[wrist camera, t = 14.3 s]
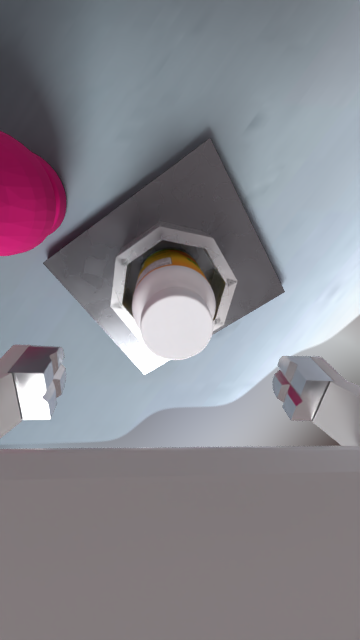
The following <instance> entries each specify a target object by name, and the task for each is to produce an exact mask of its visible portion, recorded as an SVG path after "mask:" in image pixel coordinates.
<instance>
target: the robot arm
mask: <svg viewBox="0 0 360 640" xmlns="http://www.w3.org/2000/svg"><path fill="white" fill-rule="evenodd" d="M64 358H65V357H64V350H63V348H62V347H53V346H36V345H13V346H12V347H11V348H10V349H9V350H8V351H7V352H6V353H5V354H4V355H3V357H2V358H1V359H0V438H1V437H3V436H4V435H5V434H6V433H8V432H9V431H10V430H11V429H13V428H14V427H15V426H16V425H18V424H19V423H20V422H21V421H22V420H36V419H50V418H51V416H52V414H53V412H54V410H55V408H56V406H57V397H59V396H60V395H62V392H63V390H64V387H65V382H66V368H65V367H64V366H63V365H62V364H61V363H62V362H63V360H64ZM278 367H279V369H280V370H279V371H278V372H277V373H275V375H274V378H273V390H274V393H275V395H276V397H277V398H278V399H279V400H281V401H282V402H284V403H283V408H284V410H285V412H286V413H287V415H288V417H289V418H290V420H296V421H313V423H314V424H316V425H317V426H318V427H319V428H321V429H322V430H323V431H324V432H325V433H327V434H328V435H329V436H330V437H332V438H333V439H334V440H336V441H337V442H338V443H339V444H340V445H342V446H263V447H262V446H259V447H168V448H167V447H163V448H53V449H0V640H360V386H359V385H357V384H355V383H353V382H347V381H346V380H345V379H344V378H343V377H342V376H341V375H340V374H339V373H338V372H337V371H336V370H335V369H334V368H333V367H332V366H330V364H328V363H327V362H326V361H325V360H324V359H323V358H321V357H319V356H282V357H281V358H280V359H279V362H278Z"/></svg>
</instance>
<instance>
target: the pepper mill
mask: <svg viewBox="0 0 360 640" xmlns="http://www.w3.org/2000/svg"><path fill="white" fill-rule="evenodd" d="M65 212H66V195H65V190H64V187H63V185H62V183H61V181H60V178H59V177H58V175H57V174H56V172H55V171H54V170H53V168H52V167H51V166H50V165H49V164H48V163H47V162H46V161H45V160H44V159H42V158H41V157H40V156H38V155H36V154H34V153H33V152H30V150H28V149H27V148H26V147H25V146H24V145H23V144H21V143H20V142H19V141H17V140H16V139H14V138H13V137H11V136H10V135H8V134H6V133H4V132H2V131H0V256H9V255H14V254H18V253H22V252H26V251H28V250H31V249H33V248H34V247H36V246H37V245H39V244H40V243H41V242H42V241H43V240H44V239H45V238H46V237H47V236H48V235H49V234H51V233H53V232H54V231H55V230H56V229H57V228H58V227H59V226H60V225H61V223H62V221H63V219H64V216H65Z"/></svg>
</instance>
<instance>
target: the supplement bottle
mask: <svg viewBox="0 0 360 640" xmlns="http://www.w3.org/2000/svg"><path fill="white" fill-rule="evenodd" d="M215 310H216V301H215V296H214V293H213V290H212V288H211V286H210V284H209V282H208V281H207V279H206V277H205V275H204V274H203V272H202V271H201V269H200V267H199V266H198V264H197V262H196V261H195V260H194V259H193V257H192V256H190V255H189V254H188V253H186V252H184V251H182V250H179V249H175V248H166V249H161V250H159V251H156V252H154V253H153V254H151V255H150V256H149V257H148V258H147V259H146V260H145V261H144V263H143V264H142V266H141V269H140V271H139V275H138V279H137V283H136V287H135V291H134V295H133V301H132V313H133V317H134V320H135V323H136V325H137V326H138V328H139V329H140V332H141V337H142V339H143V341H144V343H145V345H146V346H147V348H148V349H149V350H150V351H151V352H153V353H154V354H156V355H157V356H159V357H162V358H164V359H169V360H182V359H187V358H190V357H192V356H194V355H196V354H198V353H199V352H201V351H202V350H203V349H204V348H205V347H206V345H207V344H208V343H209V341H210V339H211V336H212V333H213V319H214V315H215Z"/></svg>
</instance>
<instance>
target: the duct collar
mask: <svg viewBox="0 0 360 640" xmlns="http://www.w3.org/2000/svg"><path fill="white" fill-rule="evenodd" d="M166 248H175V249H179V250H182V251H184V252H186V253H188V254H189V255H190V256H192V257H193V259H194V260H195V261H196V262H197V264H198V266H199V267H200V269H201V271H202V272H203V274H204V275H205V277H206V279H207V281H208V282H209V284H210V286H211V288H212V290H213V293H214V296H215V301H216V310H215V315H214V319H213V333H212V335H213V334H215V333H216V332H218V331H220V330H221V329H223V328H225V327H226V326H228V325H230V324H231V323H233V322H235V321H237V320H238V319H240V318H242V317H243V316H245V315H247V314H248V313H250V312H252V311H253V310H255V309H257V308H259V307H260V306H262V305H264V304H265V303H267V302H269V301H270V300H272V299H274V298H275V297H277V296H279V295H280V294H282V293H284V292H285V291H284V289H283V287H282V285H281V283H280V281H279V279H278V277H277V275H276V273H275V271H274V269H273V266H272V264H271V262H270V260H269V258H268V256H267V254H266V252H265V250H264V248H263V246H262V244H261V242H260V240H259V238H258V236H257V234H256V231H255V229H254V227H253V225H252V223H251V221H250V219H249V217H248V215H247V213H246V211H245V209H244V207H243V205H242V203H241V201H240V198H239V196H238V194H237V192H236V190H235V188H234V186H233V184H232V182H231V180H230V178H229V176H228V174H227V172H226V170H225V168H224V166H223V163H222V161H221V159H220V157H219V155H218V153H217V151H216V149H215V147H214V145H213V143H212V141H211V139H210V138H209V139H208V140H207V141H205V142H204V143H203V144H201V145H200V146H199V147H197V148H196V149H195V150H193V151H192V152H191V153H189V154H188V155H187V156H185V157H184V158H183V159H181V160H180V161H179V162H177V163H176V164H175V165H173V166H172V167H171V168H169V169H168V170H167V171H165V172H164V173H163V174H161V175H160V176H159V177H157V178H156V179H155V180H153V181H152V182H151V183H149V184H148V185H147V186H145V187H144V188H143V189H141V190H140V191H139V192H137V193H136V194H134V195H133V196H132V197H130V198H129V199H128V200H126V201H125V202H124V203H122V204H121V205H120V206H118V207H117V208H116V209H114V210H113V211H112V212H110V213H109V214H108V215H106V216H105V217H104V218H102V219H101V220H100V221H98V222H97V223H96V224H94V225H93V226H92V227H90V228H89V229H88V230H86V231H85V232H84V233H82V234H81V235H80V236H78V237H77V238H76V239H74V240H73V241H72V242H70V243H69V244H68V245H66V246H65V247H64V248H62V249H61V250H60V251H58V252H57V253H56V254H54V255H53V256H52V257H50V258H49V259H48V260H46V261H45V262H44V263H43V264H44V265H45V266H46V267H47V268H48V269H49V270H50V271H51V273H52V274H53V275H54V276H55V277H56V278H57V279H58V280H59V281H60V282H61V284H62V285H63V286H64V287H65V288H66V289H67V290H68V291H69V292H70V293H71V295H72V296H73V297H74V298H75V299H76V300H77V301H78V302H79V303H80V304H81V306H82V307H83V308H84V309H85V310H86V311H87V312H88V313H89V314H90V315H91V317H92V318H93V319H94V320H95V321H96V322H97V323H98V324H99V325H100V326H101V328H102V329H103V330H104V331H105V332H106V333H107V334H108V335H109V336H110V337H111V339H112V340H113V341H114V342H115V343H116V344H117V345H118V346H119V347H120V348H121V350H122V351H123V352H124V353H125V354H126V355H127V356H128V357H129V358H130V359H131V361H132V362H133V363H134V364H135V365H136V366H137V367H138V368H139V369H140V370H141V372H142V373H143V374H144V375H145V374H147V373H149V372H150V371H152V370H154V369H155V368H157V367H159V366H161V365H162V364H164V363H166V362H167V361H169V359H164V358H162V357H159V356H157V355H156V354H154V353H153V352H151V351H150V350H149V349H148V348H147V346H146V345H145V343H144V341H143V339H142V337H141V332H140V329H139V328H138V326H137V325H136V323H135V320H134V317H133V313H132V301H133V295H134V291H135V287H136V283H137V279H138V275H139V271H140V269H141V266H142V264H143V263H144V261H145V260H146V259H147V258H148V257H149V256H150V255H151V254H153V253H154V252H156V251H159V250H161V249H166Z"/></svg>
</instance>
